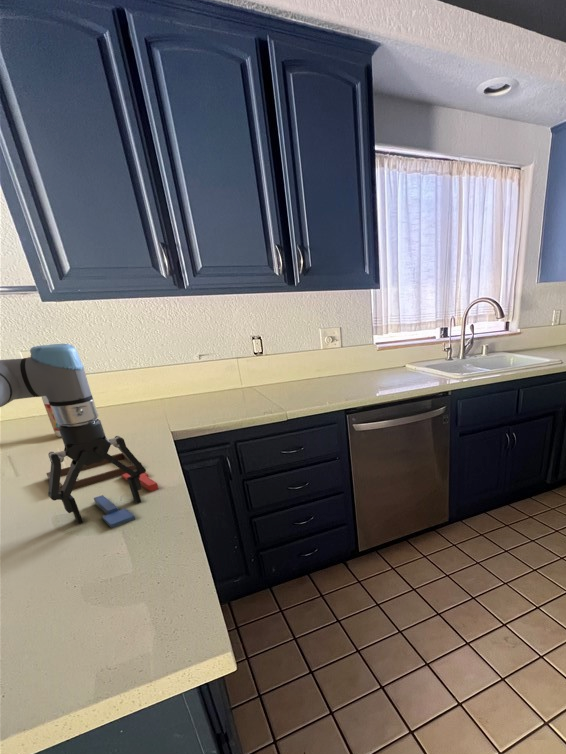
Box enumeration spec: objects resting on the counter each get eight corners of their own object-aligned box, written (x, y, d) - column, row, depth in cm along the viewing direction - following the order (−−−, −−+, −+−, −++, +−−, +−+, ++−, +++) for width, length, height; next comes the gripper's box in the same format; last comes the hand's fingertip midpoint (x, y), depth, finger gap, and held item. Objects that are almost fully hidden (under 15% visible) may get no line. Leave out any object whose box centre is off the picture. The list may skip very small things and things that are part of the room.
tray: (62, 495, 108) (59, 486, 107) (49, 481, 117) (46, 473, 116) (143, 470, 121) (141, 462, 120) (126, 459, 130) (123, 452, 129)
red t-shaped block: (165, 489, 109) (162, 481, 108) (145, 496, 106) (142, 487, 105) (141, 474, 119) (139, 466, 118) (122, 480, 116) (120, 471, 115)
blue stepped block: (90, 509, 101) (86, 500, 100) (112, 501, 104) (109, 492, 103) (112, 531, 91) (109, 521, 90) (136, 522, 94) (133, 512, 93)
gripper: (11, 440, 79) (53, 540, 88) (145, 411, 95) (169, 498, 104) (3, 432, 84) (44, 528, 93) (132, 406, 99) (156, 490, 109)
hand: (110, 512), depth 98 cm, fingers open, 11 cm apart
